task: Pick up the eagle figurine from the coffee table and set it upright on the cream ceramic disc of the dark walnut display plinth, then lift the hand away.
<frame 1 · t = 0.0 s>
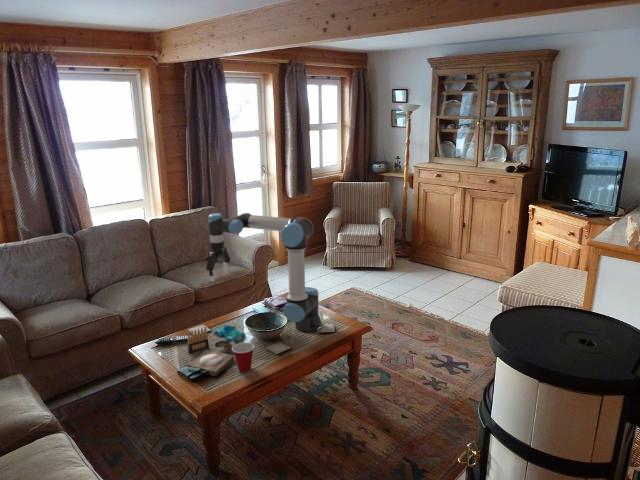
hand: (219, 277, 274), 28 cm above the table, fingers open, 13 cm apart
eagle figurine: (225, 351, 248), on the table
plastic cup: (244, 369, 231), on the table
toy car: (229, 336, 265), on the table
plinth: (211, 364, 235), on the table
ammunition clip: (198, 350, 250), on the table
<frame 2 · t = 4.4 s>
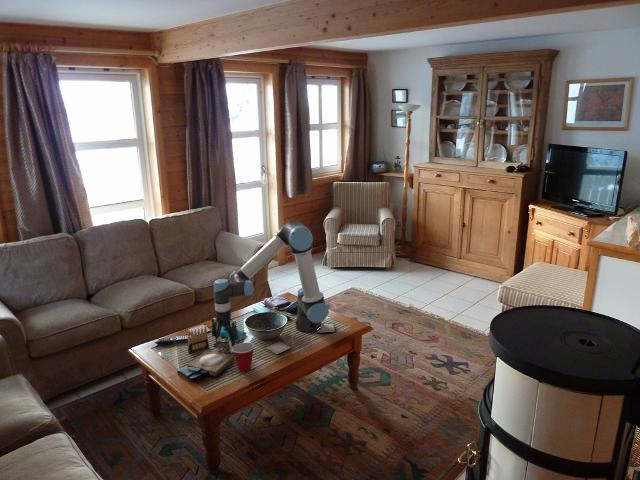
hand: (226, 350, 248), 1 cm above the table, fingers closed on eagle figurine, 7 cm apart
eagle figurine: (224, 352, 247), on the table, touching gripper, plinth
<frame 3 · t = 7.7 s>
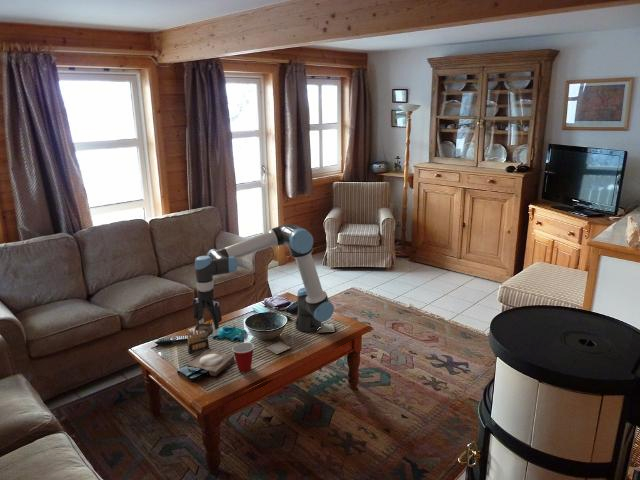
hand: (208, 333, 231), 17 cm above the table, fingers closed on eagle figurine, 7 cm apart
eagle figurine: (206, 335, 230), point 16 cm above the table, touching gripper
when the fingers open (4 cm above the table, at t = 10.8 s): eagle figurine stays where it is, resting on plinth.
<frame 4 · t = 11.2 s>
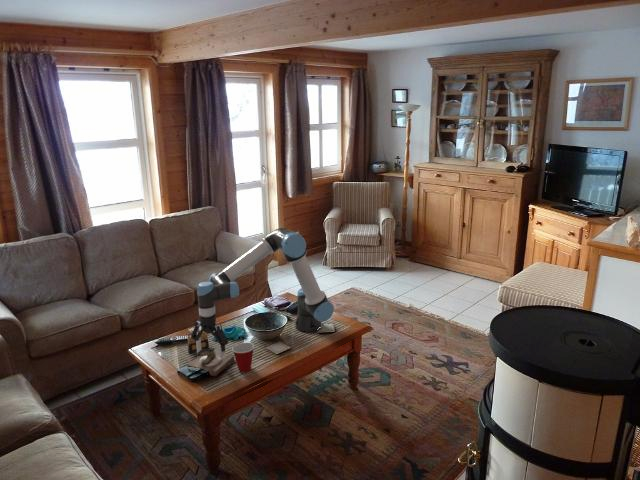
hand: (210, 354, 234), 6 cm above the table, fingers open, 13 cm apart
eagle figurine: (209, 360, 233), point 3 cm above the table, touching plinth
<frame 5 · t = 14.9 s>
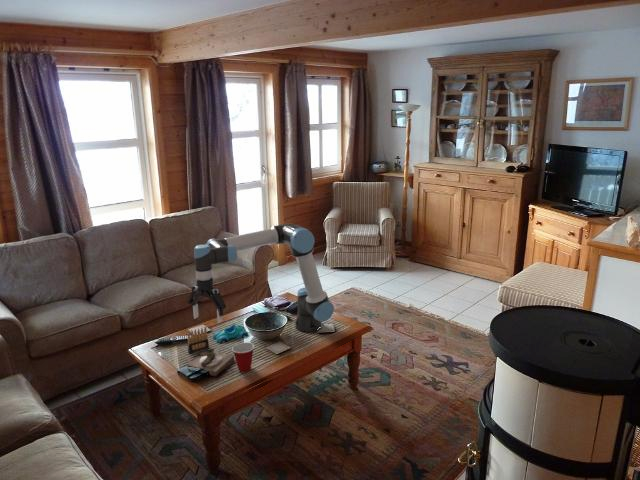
hand: (208, 319, 229), 24 cm above the table, fingers open, 13 cm apart
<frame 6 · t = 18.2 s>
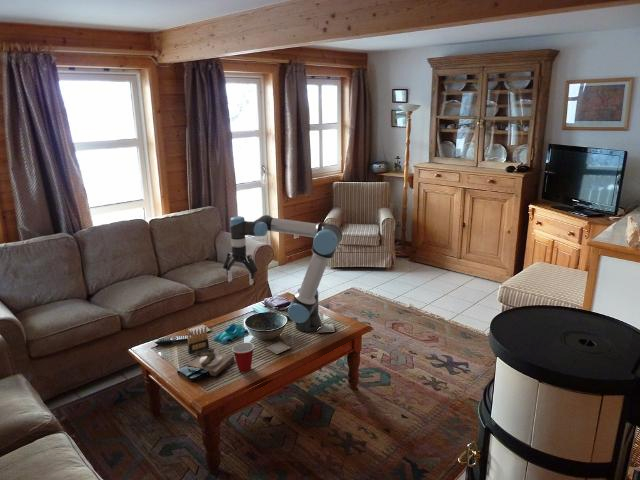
hand: (240, 282, 263), 29 cm above the table, fingers open, 13 cm apart
at the end: eagle figurine inside the target area on the plinth (1.7 cm from its centre), point 2.7 cm above the plinth's base; eagle figurine tilted 0°; the gripper is holding nothing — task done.
